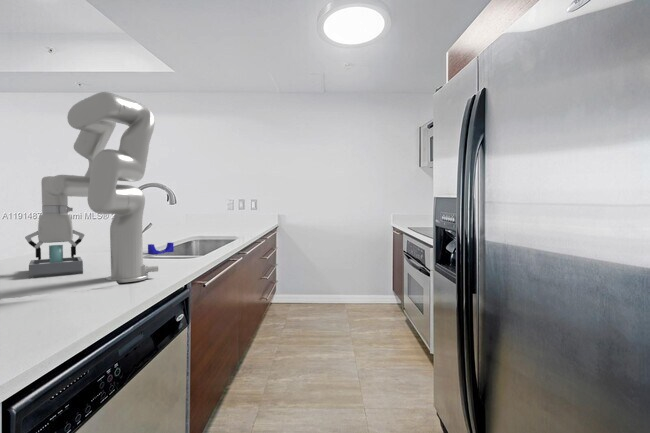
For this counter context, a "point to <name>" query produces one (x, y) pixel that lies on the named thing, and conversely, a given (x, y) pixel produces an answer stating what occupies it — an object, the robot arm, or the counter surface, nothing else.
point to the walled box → (55, 267)
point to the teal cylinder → (55, 253)
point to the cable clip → (153, 251)
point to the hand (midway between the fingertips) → (56, 258)
